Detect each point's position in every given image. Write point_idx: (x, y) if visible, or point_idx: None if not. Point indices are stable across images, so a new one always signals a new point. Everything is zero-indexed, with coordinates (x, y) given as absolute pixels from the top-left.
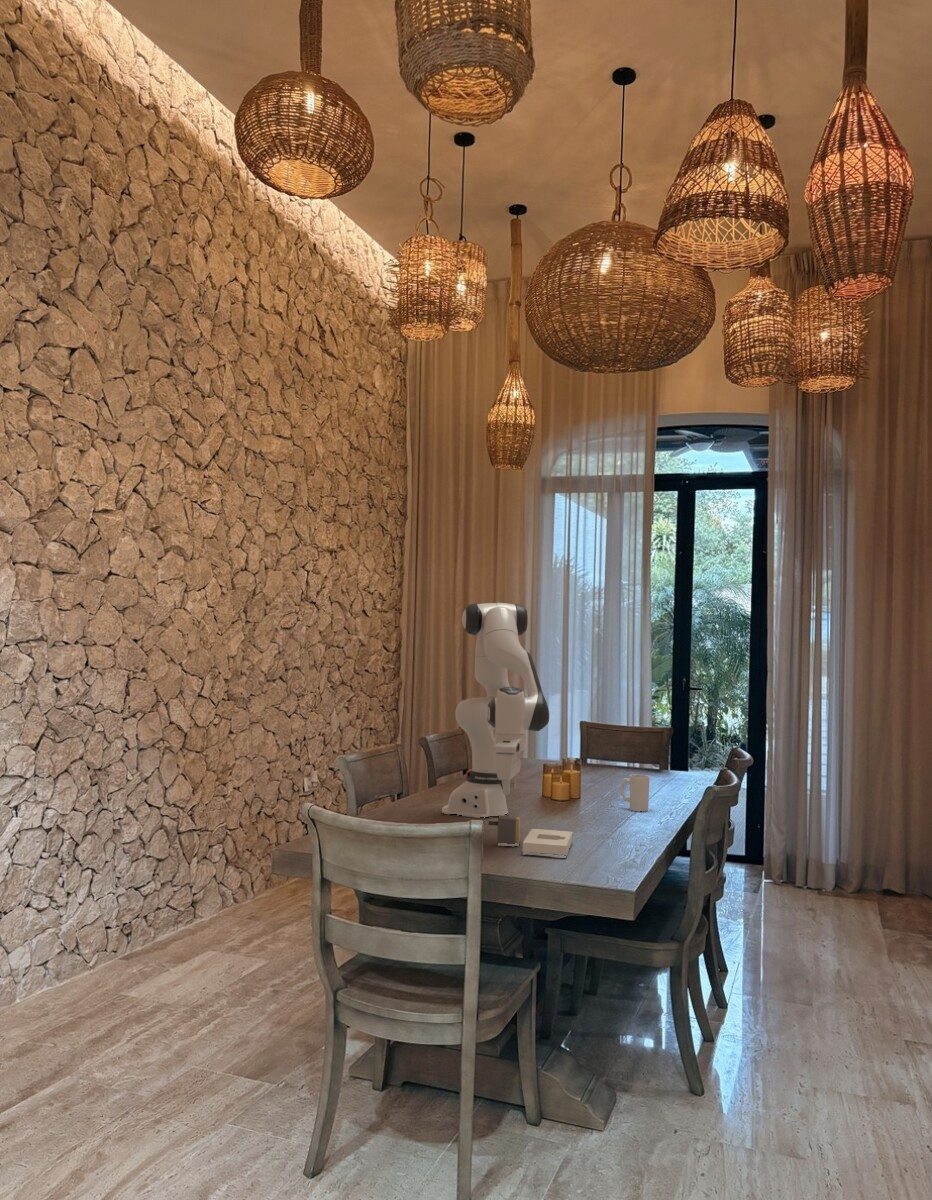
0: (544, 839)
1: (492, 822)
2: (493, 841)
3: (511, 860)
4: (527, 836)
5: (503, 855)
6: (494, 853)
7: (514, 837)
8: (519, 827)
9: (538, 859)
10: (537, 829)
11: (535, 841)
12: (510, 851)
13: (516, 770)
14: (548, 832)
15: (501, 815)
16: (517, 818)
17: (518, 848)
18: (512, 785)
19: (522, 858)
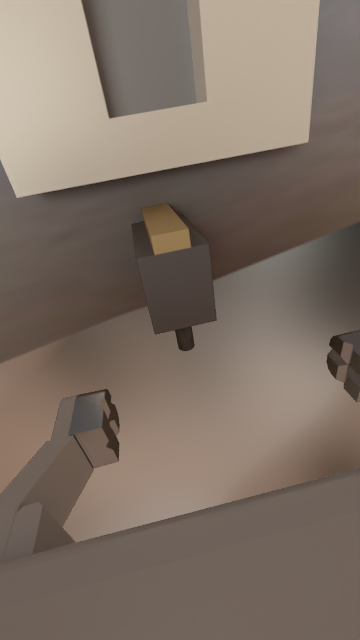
0: (216, 39)
1: (192, 334)
2: (136, 307)
3: (357, 158)
4: (190, 161)
5: (299, 209)
6: (282, 245)
7: (189, 223)
8: (166, 220)
9: (327, 47)
10: (12, 162)
11: (274, 82)
12: (240, 207)
13: (233, 596)
14: (36, 69)
15: (156, 330)
16: (182, 241)
17: (186, 195)
18: (108, 424)
19: (324, 126)
